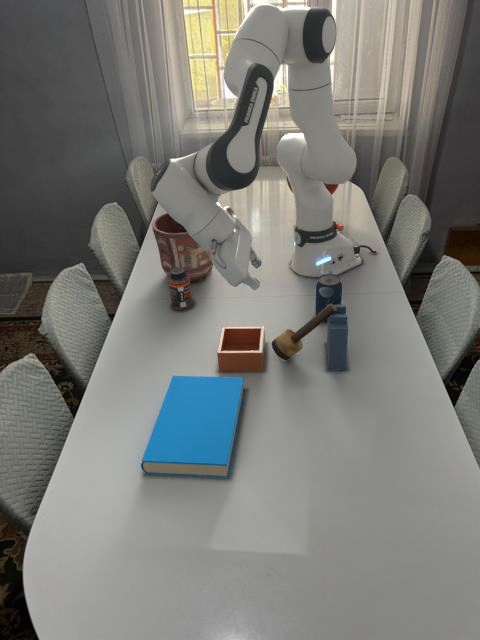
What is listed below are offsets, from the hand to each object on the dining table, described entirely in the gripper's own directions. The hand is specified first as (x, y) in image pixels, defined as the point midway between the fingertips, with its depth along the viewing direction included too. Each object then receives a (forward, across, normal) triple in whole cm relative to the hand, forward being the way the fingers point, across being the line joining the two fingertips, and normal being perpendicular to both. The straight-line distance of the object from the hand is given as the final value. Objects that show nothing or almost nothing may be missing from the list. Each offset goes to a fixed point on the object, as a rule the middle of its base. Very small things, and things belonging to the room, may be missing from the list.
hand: (258, 275), depth 112 cm
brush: (+24, 0, +6) cm, 25 cm away
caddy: (+15, 0, +18) cm, 23 cm away
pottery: (+3, +42, +34) cm, 54 cm away
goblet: (+28, +84, +2) cm, 89 cm away
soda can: (+29, +17, +1) cm, 33 cm away
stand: (+29, 0, 0) cm, 29 cm away
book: (+10, -24, +24) cm, 36 cm away
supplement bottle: (+3, +24, +33) cm, 41 cm away
